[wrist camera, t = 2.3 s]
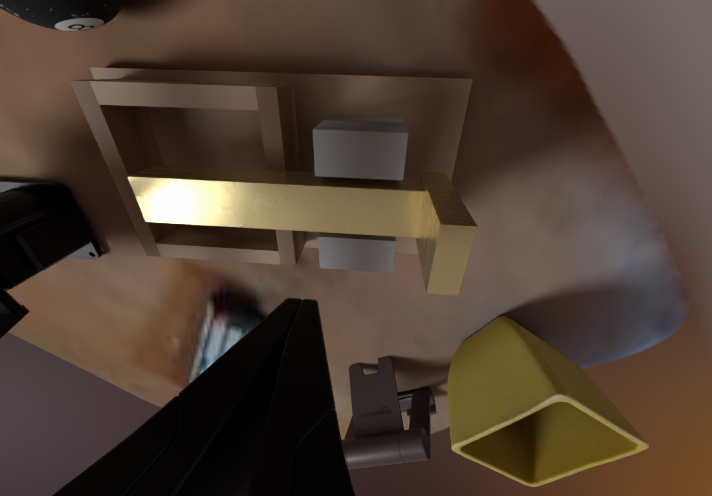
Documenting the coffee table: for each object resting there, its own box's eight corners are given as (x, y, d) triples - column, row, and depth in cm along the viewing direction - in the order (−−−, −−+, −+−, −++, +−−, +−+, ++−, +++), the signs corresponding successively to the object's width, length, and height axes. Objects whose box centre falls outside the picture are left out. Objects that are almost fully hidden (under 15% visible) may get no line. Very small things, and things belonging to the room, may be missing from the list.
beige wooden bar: (171, 211, 17) (84, 270, 12) (153, 159, 15) (43, 202, 10) (434, 225, 16) (457, 295, 11) (444, 172, 14) (477, 226, 9)
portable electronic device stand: (362, 407, 34) (356, 496, 27) (330, 368, 31) (315, 459, 23) (433, 394, 32) (448, 487, 24) (409, 350, 28) (418, 445, 21)
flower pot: (504, 288, 23) (565, 396, 15) (572, 335, 25) (655, 450, 18) (429, 343, 27) (448, 450, 20) (493, 380, 29) (532, 489, 22)
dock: (166, 231, 23) (103, 278, 17) (104, 67, 17) (-17, 66, 12) (434, 248, 21) (450, 302, 16) (467, 78, 16) (509, 82, 11)
